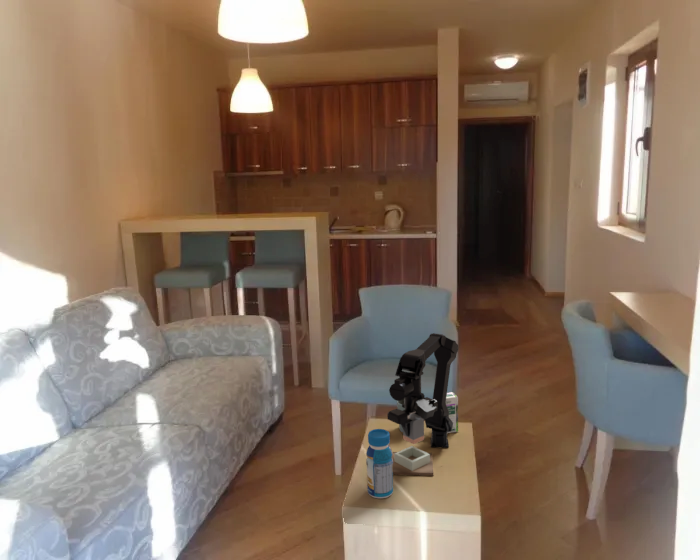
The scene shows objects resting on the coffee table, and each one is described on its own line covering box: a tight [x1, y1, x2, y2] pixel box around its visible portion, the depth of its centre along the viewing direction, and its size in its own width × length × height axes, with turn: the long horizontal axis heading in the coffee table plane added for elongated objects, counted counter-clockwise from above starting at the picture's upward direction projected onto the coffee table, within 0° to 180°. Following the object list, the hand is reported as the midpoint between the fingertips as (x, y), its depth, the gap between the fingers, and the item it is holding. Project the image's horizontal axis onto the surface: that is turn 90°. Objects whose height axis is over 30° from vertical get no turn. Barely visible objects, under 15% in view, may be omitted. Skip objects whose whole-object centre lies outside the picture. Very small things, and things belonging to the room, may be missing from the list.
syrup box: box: [446, 391, 459, 434], centre depth 219 cm, size 6×6×14 cm
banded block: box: [402, 413, 425, 445], centre depth 191 cm, size 5×5×8 cm
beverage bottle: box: [365, 428, 394, 499], centre depth 176 cm, size 8×8×20 cm
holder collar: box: [394, 445, 430, 471], centre depth 194 cm, size 9×9×3 cm
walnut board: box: [392, 451, 434, 477], centre depth 194 cm, size 14×14×1 cm
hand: (413, 433), depth 192 cm, fingers closed on banded block, 5 cm apart
